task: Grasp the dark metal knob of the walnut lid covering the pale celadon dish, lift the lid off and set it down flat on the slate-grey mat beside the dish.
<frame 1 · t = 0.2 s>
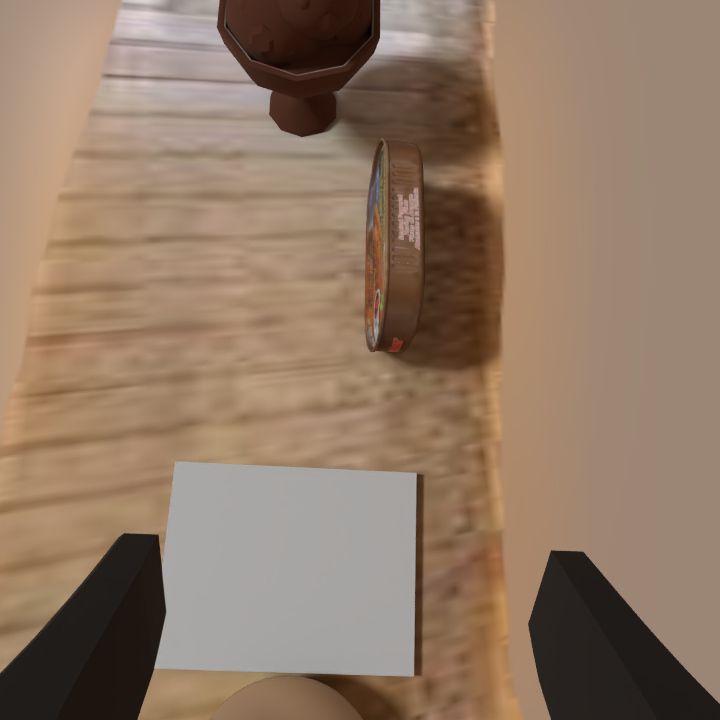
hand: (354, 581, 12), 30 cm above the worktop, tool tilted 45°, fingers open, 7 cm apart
tin: (386, 272, 47), on the worktop
ice cream bowl: (303, 108, 51), on the worktop
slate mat: (290, 565, 41), on the worktop
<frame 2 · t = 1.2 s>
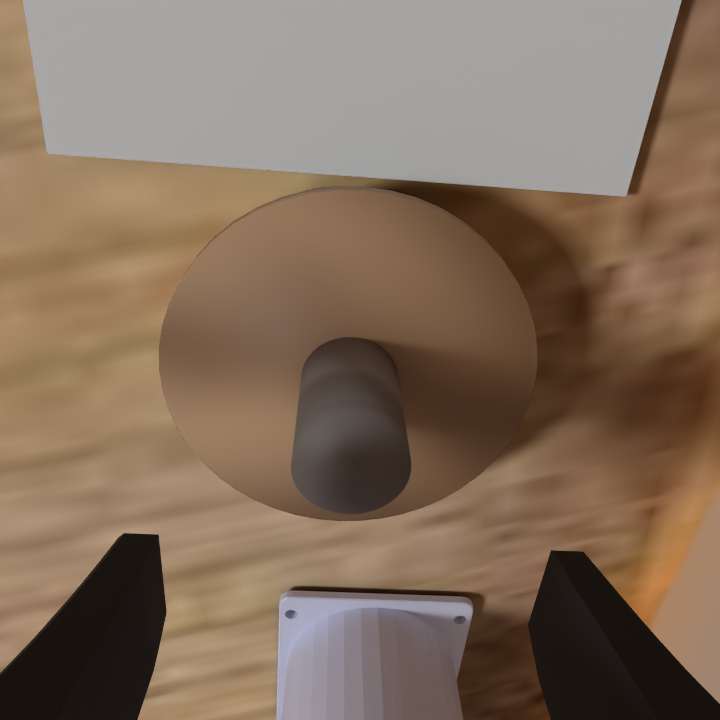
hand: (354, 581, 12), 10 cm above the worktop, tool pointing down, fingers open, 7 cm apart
walnut lid: (349, 369, 19), point 2 cm above the worktop, touching celadon dish
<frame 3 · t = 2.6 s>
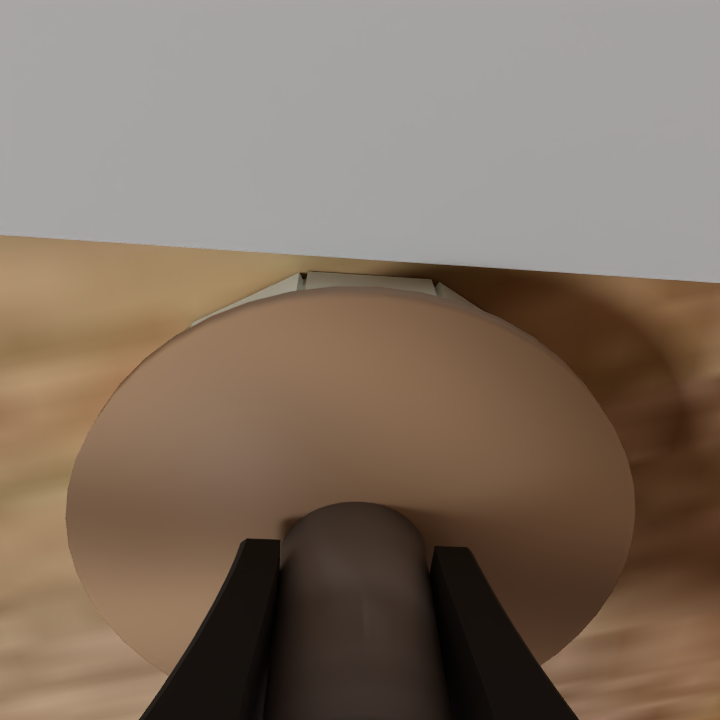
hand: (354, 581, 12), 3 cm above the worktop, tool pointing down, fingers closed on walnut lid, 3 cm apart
celadon dish: (351, 470, 14), on the worktop
walnut lid: (353, 534, 13), point 2 cm above the worktop, touching celadon dish, gripper
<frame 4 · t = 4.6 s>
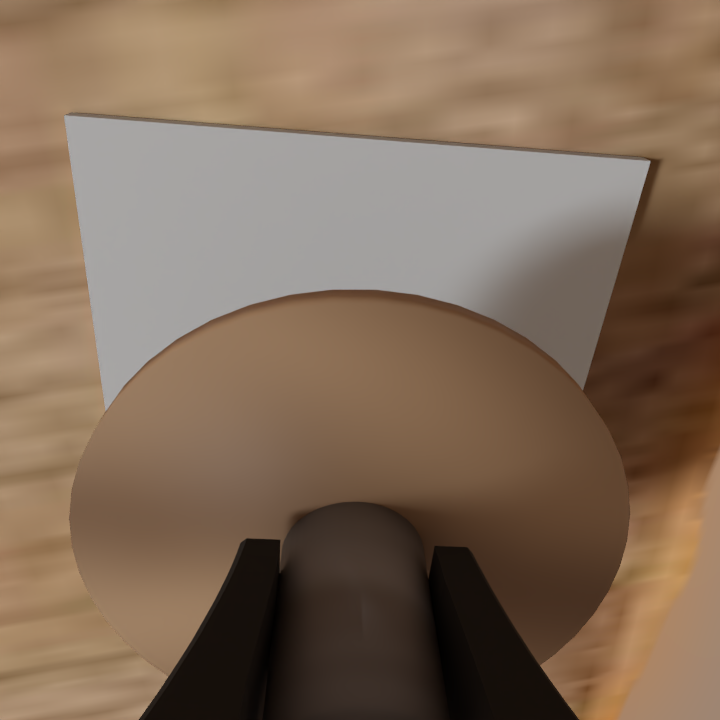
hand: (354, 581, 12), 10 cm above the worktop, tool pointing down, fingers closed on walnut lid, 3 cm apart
walnut lid: (352, 534, 13), point 9 cm above the worktop, touching gripper
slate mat: (349, 333, 21), on the worktop
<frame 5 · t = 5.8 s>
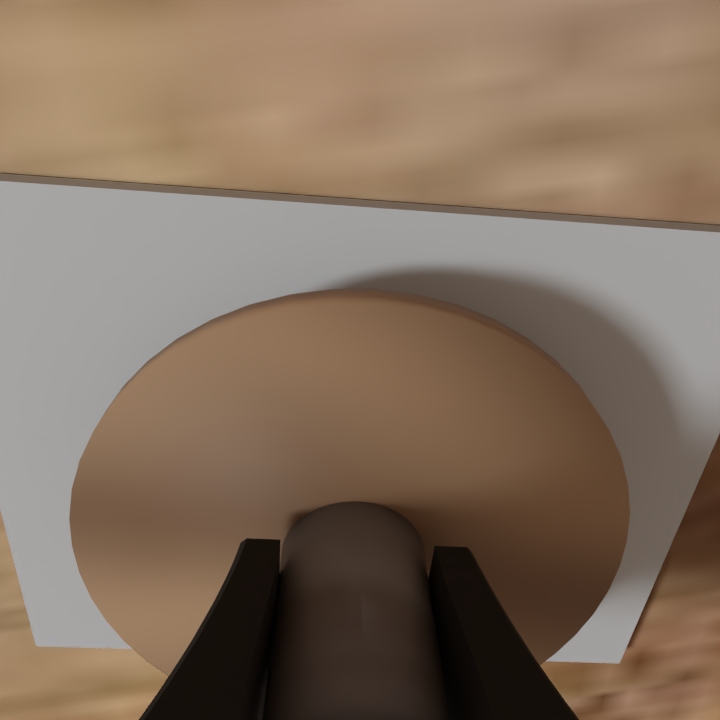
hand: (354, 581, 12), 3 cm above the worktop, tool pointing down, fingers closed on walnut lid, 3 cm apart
walnut lid: (352, 534, 13), point 2 cm above the worktop, touching gripper
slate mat: (351, 464, 15), on the worktop
when the fingers open (3 cm above the worktop, at t = 6.6 s): walnut lid drops 1 cm, resting on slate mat.
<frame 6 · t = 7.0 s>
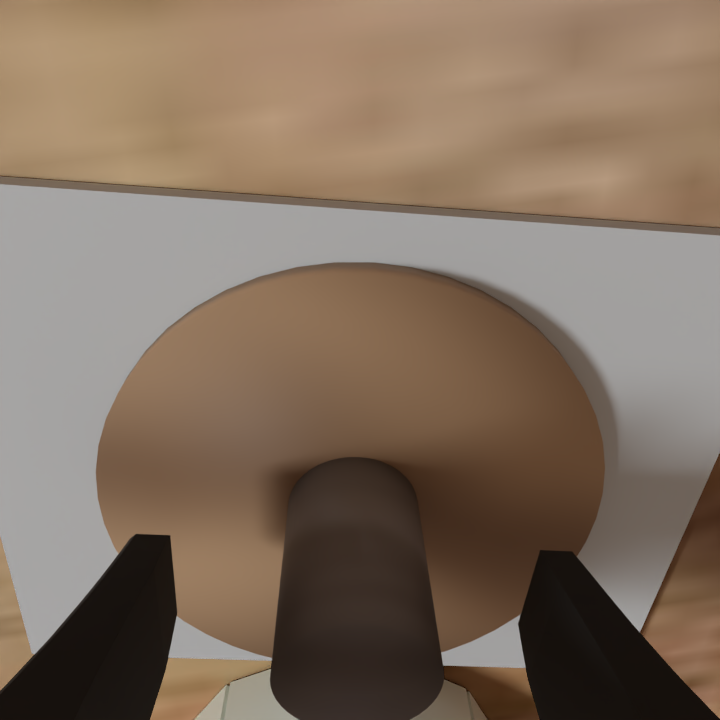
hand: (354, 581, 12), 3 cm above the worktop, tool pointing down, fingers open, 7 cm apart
walnut lid: (352, 489, 14), resting on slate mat
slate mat: (352, 470, 14), on the worktop
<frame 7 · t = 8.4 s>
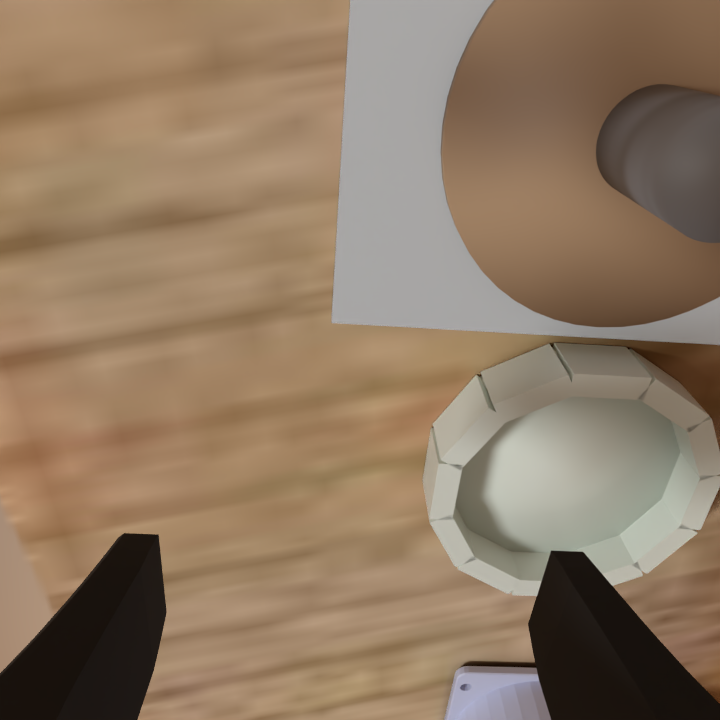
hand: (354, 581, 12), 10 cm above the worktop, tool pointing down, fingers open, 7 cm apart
celadon dish: (557, 460, 23), on the worktop
walnut lid: (640, 138, 17), resting on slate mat
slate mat: (633, 129, 17), on the worktop
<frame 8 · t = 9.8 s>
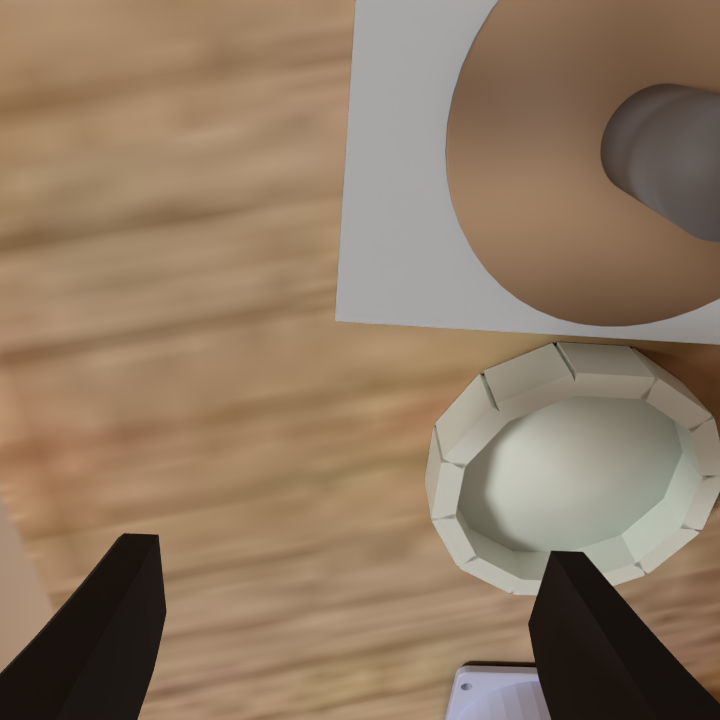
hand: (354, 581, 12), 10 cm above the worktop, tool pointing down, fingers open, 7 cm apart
celadon dish: (559, 460, 23), on the worktop
walnut lid: (644, 137, 17), resting on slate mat
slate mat: (638, 128, 17), on the worktop
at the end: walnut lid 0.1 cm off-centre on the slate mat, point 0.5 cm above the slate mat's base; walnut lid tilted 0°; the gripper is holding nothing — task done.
